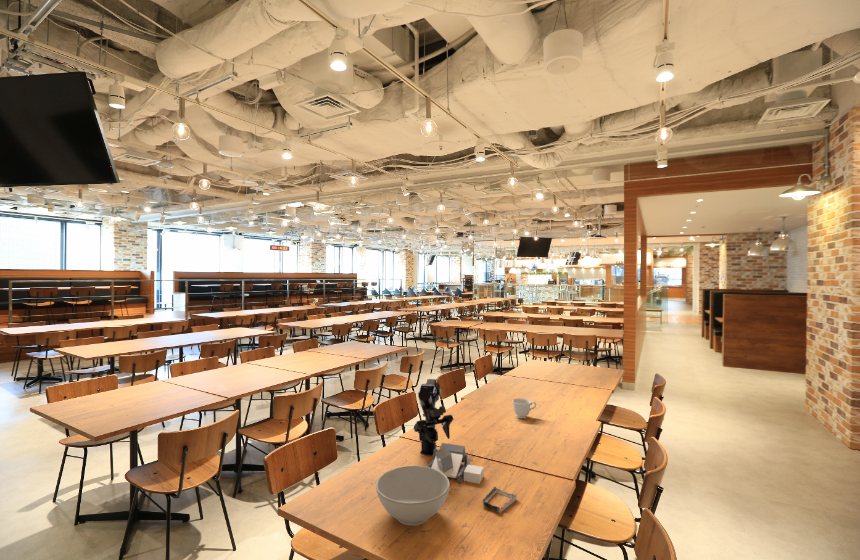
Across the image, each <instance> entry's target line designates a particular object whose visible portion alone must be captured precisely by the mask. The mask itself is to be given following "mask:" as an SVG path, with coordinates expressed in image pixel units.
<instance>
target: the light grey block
mask: <svg viewBox="0 0 860 560" xmlns="http://www.w3.org/2000/svg"><path fill="white" fill-rule="evenodd" d="M483 478H484V466H480V465H479V466H478V465H473V464H470V465H467V467H466V469H465V470H464V477H463V482H466V481H467V482H468V483H472V484H478V485H480V484H481V482H482V481H483Z"/></svg>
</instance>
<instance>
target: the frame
mask: <svg viewBox="0 0 860 560" xmlns="http://www.w3.org/2000/svg"><path fill="white" fill-rule="evenodd" d="M437 450H438V448H436V449H434V450H433V455H432V456H433V458H432V460H431V461H430V462H429V464H428V465H427V466H426V467H430V468H431V467H432V465H433V462H434V459H435V457H436V451H437ZM470 463H471V459H470V458H469V455H468V453H466V454H465V455H464V464H463V465H462V466H461V468H460V469H459V471H458V475H457V478H456V483H457V484H461V482H462V481H463V480H464V470H465V469H466V467H467V465H471V464H470ZM461 480H462V481H461Z"/></svg>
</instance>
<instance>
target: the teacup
mask: <svg viewBox="0 0 860 560" xmlns="http://www.w3.org/2000/svg"><path fill="white" fill-rule="evenodd" d="M511 402H512V404H513V412H514V414H515V415H516V417H517V418H518V419H521V418H524V419H527V416H529V414H530V412H531V410H535V408H536V407H537V403H536V401H533V400H530V399H528V398H523V397H522V398H520V397H519V398H513V399H512V400H511ZM533 404H534V405H533ZM531 406H532V407H531Z"/></svg>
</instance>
